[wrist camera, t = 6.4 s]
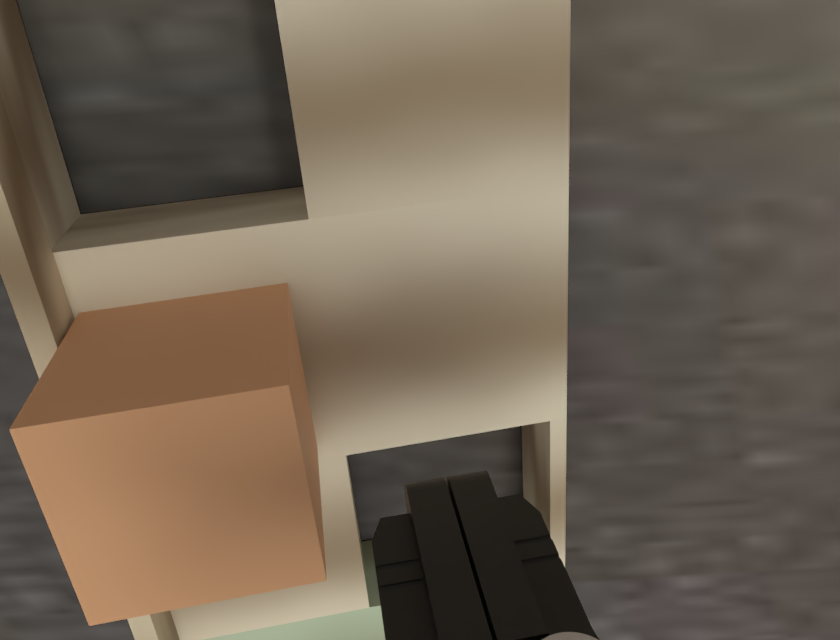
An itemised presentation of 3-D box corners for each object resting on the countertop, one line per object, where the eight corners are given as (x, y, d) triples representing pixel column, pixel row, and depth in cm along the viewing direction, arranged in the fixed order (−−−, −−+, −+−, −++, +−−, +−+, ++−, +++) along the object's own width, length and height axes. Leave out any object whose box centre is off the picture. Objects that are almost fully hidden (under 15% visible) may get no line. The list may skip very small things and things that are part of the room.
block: (78, 312, 17) (9, 429, 13) (287, 282, 18) (288, 384, 14) (133, 477, 20) (89, 625, 15) (317, 446, 20) (326, 580, 16)
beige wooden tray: (-50, -136, 16) (-163, -171, 12) (528, -176, 17) (601, -220, 13) (210, 691, 28) (198, 812, 24) (538, 625, 29) (578, 728, 25)
